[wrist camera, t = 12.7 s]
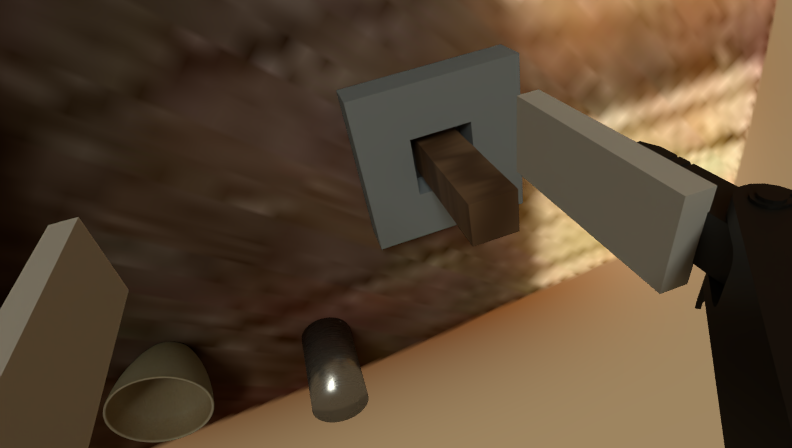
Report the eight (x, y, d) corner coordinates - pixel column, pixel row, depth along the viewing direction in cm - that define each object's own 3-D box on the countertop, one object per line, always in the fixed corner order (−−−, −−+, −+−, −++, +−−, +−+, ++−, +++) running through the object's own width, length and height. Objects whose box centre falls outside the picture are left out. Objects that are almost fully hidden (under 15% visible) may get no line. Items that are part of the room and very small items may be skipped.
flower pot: (181, 310, 49) (174, 362, 43) (233, 361, 55) (233, 413, 49) (96, 352, 49) (77, 409, 43) (157, 399, 55) (148, 455, 49)
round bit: (309, 359, 58) (321, 429, 50) (295, 327, 55) (305, 397, 47) (355, 343, 59) (373, 409, 51) (343, 311, 55) (361, 377, 47)
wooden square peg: (417, 169, 47) (472, 246, 36) (410, 134, 45) (468, 204, 34) (453, 158, 48) (519, 230, 37) (448, 122, 45) (518, 188, 34)
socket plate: (373, 231, 50) (381, 249, 47) (336, 90, 41) (343, 102, 38) (507, 187, 52) (522, 203, 49) (500, 44, 43) (519, 53, 40)
